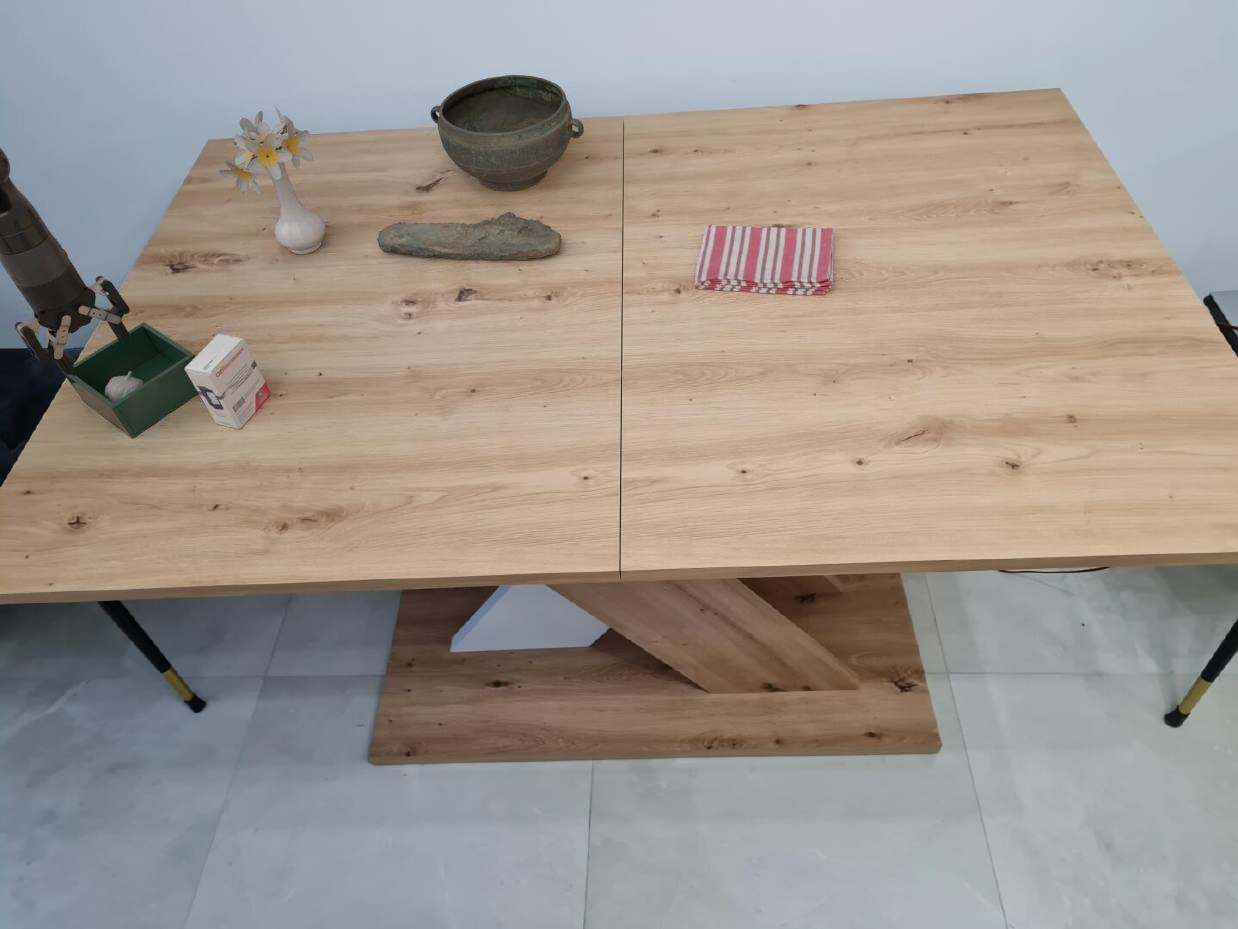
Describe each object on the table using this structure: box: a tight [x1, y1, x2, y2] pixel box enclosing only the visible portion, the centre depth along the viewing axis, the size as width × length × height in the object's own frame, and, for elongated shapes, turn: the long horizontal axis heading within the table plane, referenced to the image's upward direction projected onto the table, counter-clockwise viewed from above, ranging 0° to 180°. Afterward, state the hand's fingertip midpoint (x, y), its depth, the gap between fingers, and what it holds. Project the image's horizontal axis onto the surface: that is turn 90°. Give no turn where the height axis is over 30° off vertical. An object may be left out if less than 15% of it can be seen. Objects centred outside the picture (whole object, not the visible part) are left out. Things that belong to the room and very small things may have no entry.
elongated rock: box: [376, 211, 563, 261], centre depth 165 cm, size 35×5×10 cm
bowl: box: [430, 74, 585, 193], centre depth 178 cm, size 32×26×15 cm
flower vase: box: [218, 104, 327, 255], centre depth 161 cm, size 13×18×25 cm
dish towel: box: [693, 223, 834, 296], centre depth 156 cm, size 17×23×4 cm
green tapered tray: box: [62, 321, 199, 440], centre depth 143 cm, size 15×15×7 cm
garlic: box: [105, 371, 144, 404], centre depth 140 cm, size 6×5×5 cm
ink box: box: [184, 333, 272, 430], centre depth 137 cm, size 8×5×12 cm, turn 160°
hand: (99, 357), depth 135 cm, fingers open, 8 cm apart
